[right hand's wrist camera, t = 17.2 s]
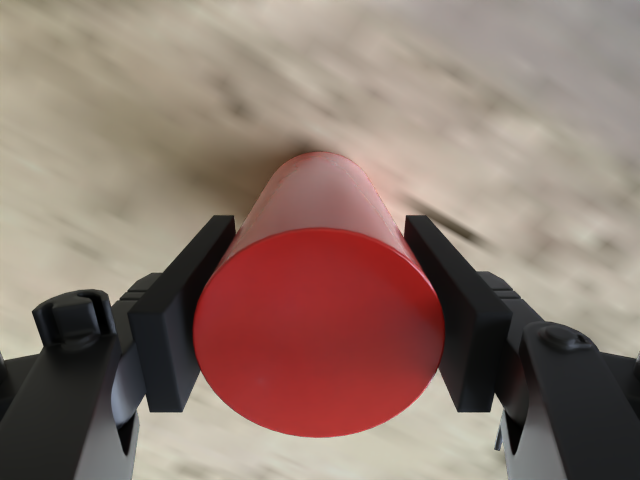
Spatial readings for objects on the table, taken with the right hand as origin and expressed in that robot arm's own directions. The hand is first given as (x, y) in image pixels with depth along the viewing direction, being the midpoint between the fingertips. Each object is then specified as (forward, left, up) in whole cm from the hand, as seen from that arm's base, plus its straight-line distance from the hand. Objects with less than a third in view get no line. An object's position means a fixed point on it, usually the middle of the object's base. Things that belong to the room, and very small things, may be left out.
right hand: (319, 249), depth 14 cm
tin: (0, 0, -5) cm, 5 cm away
